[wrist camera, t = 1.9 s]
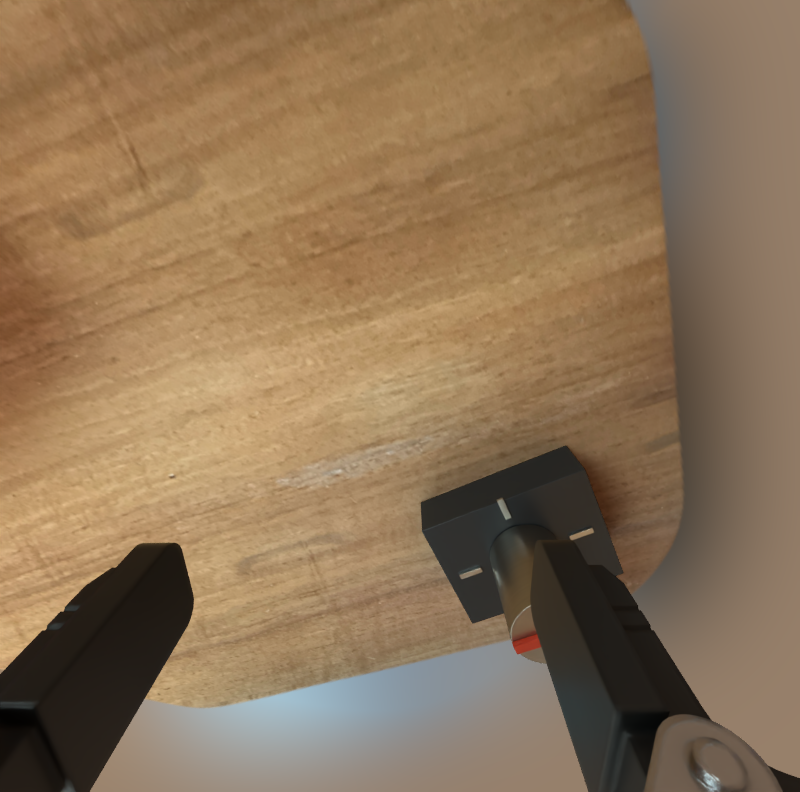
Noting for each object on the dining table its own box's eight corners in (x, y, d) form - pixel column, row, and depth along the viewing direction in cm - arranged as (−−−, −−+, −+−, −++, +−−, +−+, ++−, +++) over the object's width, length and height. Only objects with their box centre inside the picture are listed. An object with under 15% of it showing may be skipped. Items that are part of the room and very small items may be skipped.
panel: (565, 442, 26) (585, 467, 23) (603, 543, 28) (626, 577, 25) (419, 499, 28) (420, 530, 25) (467, 590, 30) (474, 628, 27)
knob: (546, 514, 24) (586, 591, 19) (569, 567, 25) (612, 654, 20) (479, 538, 25) (498, 620, 19) (504, 589, 26) (529, 679, 21)
